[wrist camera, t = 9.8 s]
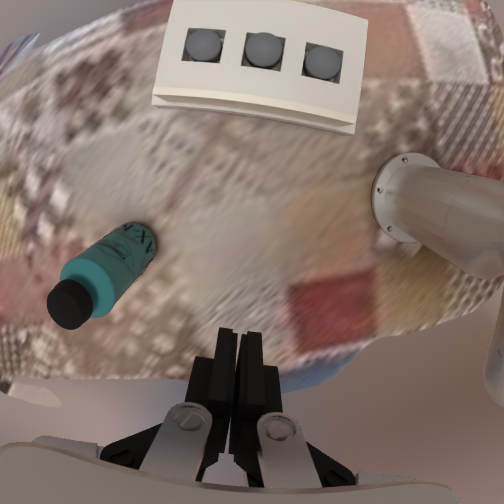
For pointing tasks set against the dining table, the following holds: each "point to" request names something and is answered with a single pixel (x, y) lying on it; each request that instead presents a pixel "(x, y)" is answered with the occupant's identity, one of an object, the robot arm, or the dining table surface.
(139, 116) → the dining table surface
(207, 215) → the dining table surface
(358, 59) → the button panel
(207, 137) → the dining table surface
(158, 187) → the dining table surface
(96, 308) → the beverage bottle
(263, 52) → the button middle
